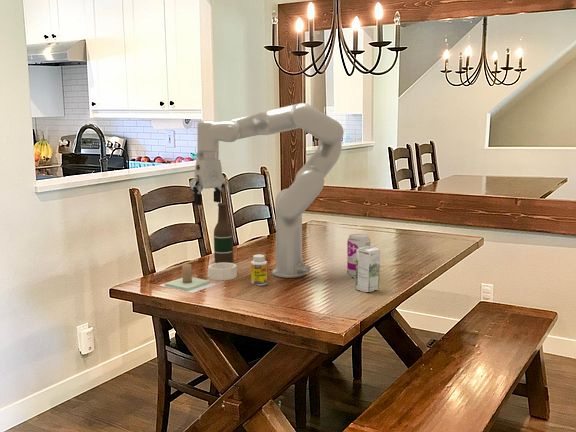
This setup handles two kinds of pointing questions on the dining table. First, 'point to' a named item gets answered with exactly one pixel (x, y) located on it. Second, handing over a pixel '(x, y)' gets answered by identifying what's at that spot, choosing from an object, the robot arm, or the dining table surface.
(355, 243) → the supplement can
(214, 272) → the bowl
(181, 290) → the mat
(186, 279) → the lid
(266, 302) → the dining table surface
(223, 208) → the beer bottle
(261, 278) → the supplement bottle
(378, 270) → the syrup box
